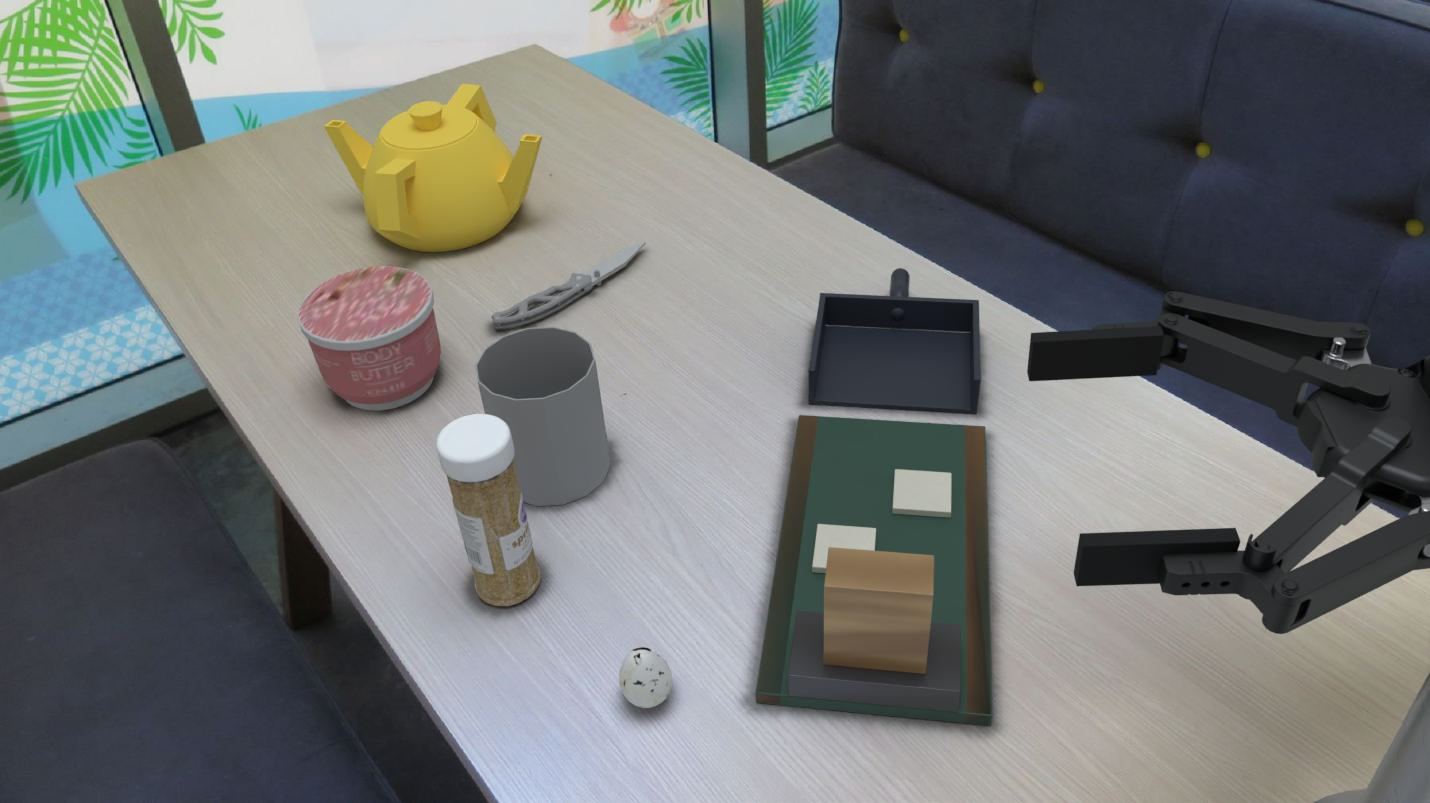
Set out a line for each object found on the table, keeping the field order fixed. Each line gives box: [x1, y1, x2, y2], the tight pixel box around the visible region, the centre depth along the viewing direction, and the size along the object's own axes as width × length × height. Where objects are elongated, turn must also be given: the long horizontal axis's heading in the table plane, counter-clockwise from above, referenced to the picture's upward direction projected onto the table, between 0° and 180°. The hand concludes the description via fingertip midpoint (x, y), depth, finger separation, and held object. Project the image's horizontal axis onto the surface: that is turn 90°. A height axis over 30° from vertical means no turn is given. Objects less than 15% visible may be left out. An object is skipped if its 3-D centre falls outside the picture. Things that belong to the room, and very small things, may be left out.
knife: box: [491, 242, 646, 330], centre depth 107 cm, size 2×18×3 cm
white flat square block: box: [812, 524, 876, 573], centre depth 80 cm, size 4×4×1 cm
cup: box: [474, 326, 612, 507], centre depth 87 cm, size 8×8×10 cm
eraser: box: [788, 547, 961, 712], centre depth 70 cm, size 5×10×9 cm, turn 81°
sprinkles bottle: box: [435, 413, 542, 607], centre depth 77 cm, size 5×5×13 cm
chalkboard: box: [755, 414, 994, 726], centre depth 81 cm, size 26×14×1 cm, turn 171°
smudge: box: [892, 469, 952, 518], centre depth 84 cm, size 4×4×1 cm
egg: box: [618, 646, 673, 709], centre depth 72 cm, size 3×3×5 cm
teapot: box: [323, 83, 543, 253], centre depth 115 cm, size 17×17×12 cm
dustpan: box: [807, 267, 982, 415], centre depth 98 cm, size 16×13×3 cm
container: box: [297, 265, 442, 412], centre depth 97 cm, size 10×10×8 cm
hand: (1050, 450), depth 57 cm, fingers open, 13 cm apart
